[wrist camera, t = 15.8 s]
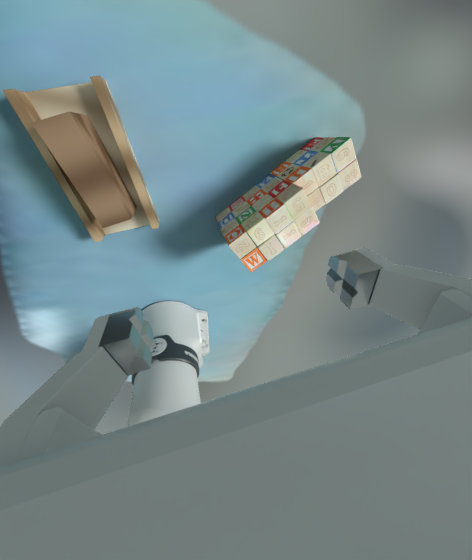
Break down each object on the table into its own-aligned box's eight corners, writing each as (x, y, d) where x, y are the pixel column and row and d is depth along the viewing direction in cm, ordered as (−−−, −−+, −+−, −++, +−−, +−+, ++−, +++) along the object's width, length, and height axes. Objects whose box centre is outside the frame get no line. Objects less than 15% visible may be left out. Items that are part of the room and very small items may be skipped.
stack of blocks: (314, 135, 35) (369, 136, 25) (326, 169, 38) (378, 182, 29) (214, 217, 39) (227, 246, 29) (233, 241, 42) (251, 274, 32)
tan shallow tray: (159, 221, 37) (158, 227, 34) (100, 234, 36) (94, 242, 33) (106, 81, 26) (99, 75, 23) (19, 94, 25) (2, 90, 22)
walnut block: (57, 124, 27) (31, 122, 22) (87, 115, 27) (68, 111, 22) (113, 214, 34) (102, 228, 29) (137, 207, 34) (130, 219, 29)
